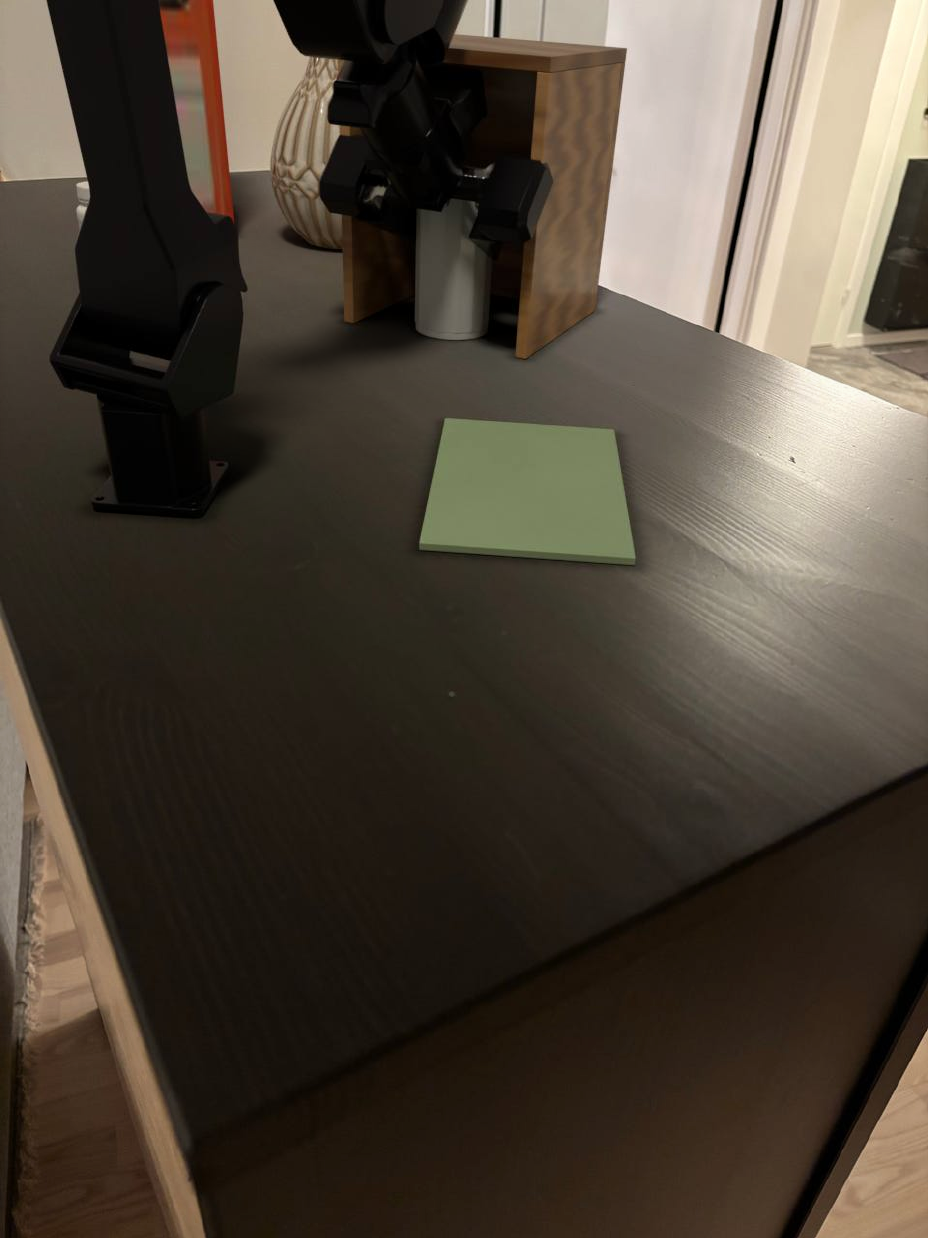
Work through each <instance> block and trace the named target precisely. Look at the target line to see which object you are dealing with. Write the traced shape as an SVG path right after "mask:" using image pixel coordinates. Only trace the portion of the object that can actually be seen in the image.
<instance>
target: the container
mask: <svg viewBox="0 0 928 1238" xmlns="http://www.w3.org/2000/svg"><path fill="white" fill-rule="evenodd" d="M463 167H469V168H477V169H485V168H480V167H472V166H463ZM474 203H475V202H472V201H465V200H458V199H451V200H450V203H449V205H448V206H447V207H443V210H442V212H436V211H430V210H423V209H417V214H416V277H415V294H414V327H415V330H416V331H417V332H418V333H420V334H421V335H423V336H426V337H429V338H433V339H438V340H446V341H467V340H474V339H478V338H481V337H483V336H485V335H486V334H487V333H489V325H490V324H489V323H490V309H491V294H490V293H491V277H492V260H493V259H491V258H490V257H489V256H487V255H486V254H485V253H484V252H483V251H482V250H481V249H480V248H479V247H478V246H477V245H476V244H475V243H473V242H472V241H471V240H470V239H469V234H470V232H471V229H472V227H473V224H474V222H475V219H476V217H477V213H478V210H476V208H475V205H474Z"/></svg>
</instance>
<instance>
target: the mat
mask: <svg viewBox="0 0 928 1238" xmlns="http://www.w3.org/2000/svg"><path fill="white" fill-rule="evenodd" d="M427 498H428V500H427V504H426V509H425V512H424V517H423V521H422V527H421V532H420V537H419V542H418V550H419V551H427V552H439V553H440V552H442V553H453V554H454V553H455V554H468V555H470V554H471V555H485V556H497V557H511V558H525V559H539V560H540V559H541V560H552V561H553V560H555V561H565V562H566V561H567V562H581V563H582V562H584V563H595V564H610V565H611V564H612V565H622V566H624V565H625V566H635V565H636V561H637V557H636V550H635V544H634V539H633V533H632V527H631V522H630V516H629V509H628V504H627V499H626V493H625V486H624V480H623V474H622V468H621V462H620V455H619V451H618V445H617V439H616V432H615V429H614V428H600V427H599V428H597V427H586V426H585V427H584V426H570V425H569V426H567V425H553V424H538V423H526V422H525V423H523V422H511V421H510V422H509V421H495V420H482V419H481V420H479V419H466V418H451V417H445V418H444V421H443V425H442V431H441V436H440V440H439V446H438V450H437V455H436V461H435V464H434V470H433V475H432V480H431V484H430V489H429V493H428V497H427Z"/></svg>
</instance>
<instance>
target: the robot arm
mask: <svg viewBox="0 0 928 1238" xmlns="http://www.w3.org/2000/svg"><path fill="white" fill-rule="evenodd" d="M272 1H273V3H274V5H275V8H276V10H277V12H278V15H279V17H280V19H281V22H282V23H283V26H284V29H285V31H286V34H287V35H288V38H289V40H290V41H291V44H292V46H294V48H295V49H296V50H297V51H298V52H299V54H300V55H302V56H304V57H309V58H310V57H315V58H325V59H335V60H344V61H343V63H342V66H341V68H340V70H339V73H338V75H337V78H336V80H335V81H334V83H333V95H332V97H331V99H330V102H329V104H328V115H327V119H328V122H329V123H330V124H332V125H340V126H348V127H356V128H360V130H361V132H362V134H363V135H351V136H348V135H339V137H338V138H337V140H336V142H335V144H334V146H333V149H332V151H331V153H330V156H329V158H328V160H327V163H326V165H325V168H324V170H323V172H322V175H321V177H320V179H319V182H318V194H319V196H320V199H321V200H322V202H323V203H324V205H325V206H326V208H327V209H328V211H329V212H330V213H334V214H340V215H346V216H353V217H355V219H356V220H358V221H361V222H365V223H367V224H370V225H372V226H375V227H377V228H379V229H382V230H384V231H387V232H389V233H391V234H394V235H396V236H398V237H400V238H402V239H405V240H407V241H409V242H411V243H413V244H415V245H416V214H417V209H423V210H430V211H436V212H442V210H443V207H447V206H448V205H449V203H450V200H451V199H458V200H465V201H472V202H475V203H474V205H475V208H476V210H478V213H477V217H476V219H475V222H474V224H473V227H472V229H471V232H470V234H469V239H470V240H471V241H472V242H473V243H475V244H476V245H477V246H478V247H479V248H480V249H481V250H482V251H483V252H484V253H485V254H486V255H487V256H489V257H490V258H491V259H493V260H497V259H498V257H499V255H500V252H501V247H502V242H504V241H506V242H513V243H519V244H524V243H525V242H527V241H529V240H530V239H532V236H533V234H534V231H535V229H536V226H537V223H538V221H539V218H540V216H541V213H542V211H543V208H544V205H545V203H546V200H547V198H548V195H549V193H550V190H551V187H552V185H553V182H554V181H553V178H552V175H551V171H550V168H549V166H548V164H547V162H546V163H541V161H540V160H535V159H531V157H529V156H521V155H513V154H501V155H498V156H497V159H496V161H495V163H494V164H491V165H489V166H488V167H487V168H486V169H477V168H469V167H463V166H462V164H461V163H462V160H463V158H464V159H469V157H470V155H471V152H472V150H473V148H474V144H473V142H472V139H471V137H470V134H471V133H472V132H473V130H474V129H475V128H476V126H477V125H478V124H479V122H480V121H481V120H482V119H484V118H485V117H486V116H487V113H488V111H487V104H486V96H485V88H484V81H483V73H482V72H481V71H480V70H478V69H470V68H460V67H449V66H436V67H433V68H429V67H422V68H421V66H423V65H430V64H435V63H438V62H443V60H444V58H445V56H446V53H447V51H448V48H449V46H450V43H451V41H452V39H453V36H454V34H456V31H457V29H458V26H459V24H460V23H461V22H460V21H461V19H462V16H463V14H464V12H465V10H466V7H467V5H468V2H469V0H272ZM46 5H47V10H48V15H49V17H50V22H51V28H52V32H53V35H54V39H55V44H56V49H57V53H58V57H59V62H60V66H61V72H62V74H63V75H62V76H63V79H64V84H65V89H66V92H67V97H68V101H69V105H70V109H71V114H72V118H73V122H74V126H75V131H76V136H77V141H78V144H79V149H80V154H81V158H82V162H83V166H84V171H85V176H86V180H87V181H88V184H89V191H90V199H89V202H88V205H87V208H86V211H85V215H84V218H83V221H82V224H81V227H80V230H78V234H77V237H76V240H75V244H74V255H75V265H76V273H77V282H78V283H77V284H78V288H79V289H78V290H79V292H78V294H77V297H76V298H75V301H74V303H73V305H72V307H71V310H70V312H69V314H68V316H67V318H66V320H65V323H64V325H62V329H61V330H60V333H59V335H58V338H57V339H56V341H55V344H54V346H53V347H52V349H51V352H50V354H49V363H50V365H51V367H52V369H53V371H54V373H55V374H56V376H57V378H58V380H59V381H60V383H61V386H62V387H63V388H65V389H68V390H70V391H71V390H72V391H73V390H76V391H77V390H78V391H80V392H84V393H88V394H92V395H96V400H97V406H98V411H99V412H98V413H99V418H100V422H101V428H102V434H103V435H102V436H103V440H104V445H105V450H106V456H107V461H108V462H107V463H108V467H109V473H110V476H109V477H108V478H107V479H106V480H105V482H104V483H103V484H102V485H101V486H100V487H99V489H98V490H97V491H96V493H95V494H94V495H93V496H92V497H91V498H90V502H91V507H92V508H93V509H96V510H104V511H105V510H106V511H118V512H119V511H120V512H134V513H146V514H147V513H148V514H149V513H150V514H161V515H177V516H188V517H189V516H190V517H195V516H196V517H197V516H200V515H203V514H204V513H205V511H206V509H207V507H208V506H209V505H210V503H211V501H212V499H213V498H214V496H215V495H216V493H217V491H218V490H219V488H220V487H221V485H222V483H223V482H224V480H225V478H226V477H227V476H228V474H229V472H230V464H229V463H228V462H226V461H222V460H221V461H219V460H210V453H209V445H208V436H207V427H206V419H205V411H204V410H205V408H207V407H210V406H212V405H213V404H216V403H218V402H219V401H222V400H224V399H226V398H228V397H231V396H232V395H233V394H234V392H235V384H236V377H237V370H238V363H239V355H240V348H241V340H242V333H243V332H242V331H243V325H244V304H243V297H242V293H247V292H248V289H249V288H248V285H247V283H246V280H245V278H244V276H243V271H242V267H241V263H240V254H239V253H240V247H239V233H238V229H237V227H236V225H235V221H234V222H233V220H232V218H231V217H230V216H226V215H221V214H215V213H209V212H206V211H205V209H204V208H203V206H202V205H201V204H200V202H199V201H198V199H197V198H196V196H195V195H194V193H193V192H192V190H191V187H190V184H189V180H188V175H187V169H186V163H185V157H184V151H183V145H182V139H181V133H180V127H179V121H178V115H177V109H176V103H175V97H174V91H173V85H172V79H171V73H170V67H169V61H168V55H167V49H166V43H165V37H164V31H163V25H162V19H161V13H160V7H159V1H158V0H46ZM131 352H132V353H136V354H140V355H144V356H149V357H153V358H157V359H160V360H164V361H169V364H168V366H165V365H161V364H158V363H153V362H149V361H145V360H140V359H137V358H132V357H130V356H131Z"/></svg>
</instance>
